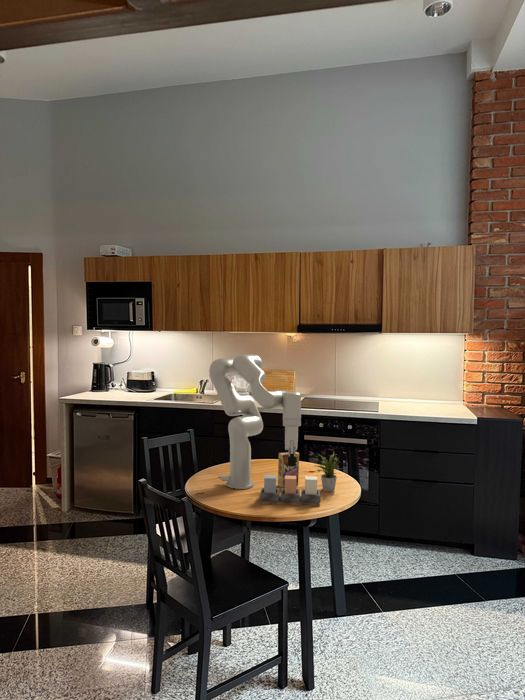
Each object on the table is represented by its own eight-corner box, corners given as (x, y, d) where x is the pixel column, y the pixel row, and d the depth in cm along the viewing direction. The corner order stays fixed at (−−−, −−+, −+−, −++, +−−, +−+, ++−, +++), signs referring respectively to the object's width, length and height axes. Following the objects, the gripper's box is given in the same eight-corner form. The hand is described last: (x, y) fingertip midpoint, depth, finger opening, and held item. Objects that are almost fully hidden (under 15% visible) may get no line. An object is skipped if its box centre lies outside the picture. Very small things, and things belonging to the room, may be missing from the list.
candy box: (281, 488, 227) (282, 454, 226) (277, 485, 231) (277, 452, 230) (298, 485, 230) (299, 453, 230) (294, 483, 234) (294, 450, 234)
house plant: (316, 482, 235) (316, 448, 235) (345, 486, 231) (346, 450, 231) (309, 491, 222) (310, 455, 221) (340, 495, 218) (341, 458, 217)
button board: (260, 504, 205) (260, 494, 205) (261, 496, 215) (261, 486, 215) (320, 506, 204) (320, 496, 204) (319, 498, 214) (319, 488, 214)
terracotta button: (284, 495, 207) (284, 478, 207) (284, 491, 212) (284, 475, 212) (296, 495, 207) (296, 479, 207) (296, 492, 212) (296, 475, 211)
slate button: (264, 494, 208) (264, 478, 207) (264, 491, 212) (264, 474, 212) (275, 495, 207) (275, 478, 207) (275, 491, 212) (276, 475, 212)
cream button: (305, 496, 207) (305, 479, 206) (304, 492, 211) (305, 476, 211) (316, 496, 206) (317, 479, 206) (316, 492, 211) (316, 476, 211)
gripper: (283, 419, 216) (283, 461, 216) (282, 424, 201) (282, 470, 201) (300, 419, 215) (300, 461, 216) (301, 425, 201) (301, 470, 201)
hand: (291, 465), depth 209 cm, fingers closed
